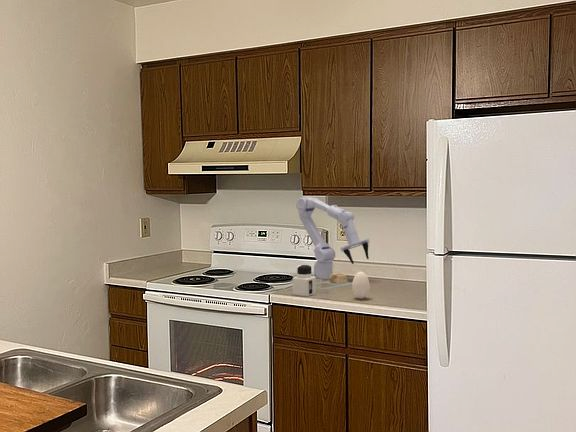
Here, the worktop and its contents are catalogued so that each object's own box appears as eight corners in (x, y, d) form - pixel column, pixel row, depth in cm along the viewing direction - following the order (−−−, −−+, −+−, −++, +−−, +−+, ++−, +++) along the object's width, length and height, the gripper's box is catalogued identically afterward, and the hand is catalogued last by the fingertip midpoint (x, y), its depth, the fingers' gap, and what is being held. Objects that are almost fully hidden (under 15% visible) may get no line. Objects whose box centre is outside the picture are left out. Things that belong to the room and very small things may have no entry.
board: (304, 287, 288) (304, 285, 288) (335, 281, 302) (335, 279, 302) (324, 291, 277) (324, 289, 277) (356, 285, 291) (356, 283, 291)
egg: (359, 296, 266) (359, 269, 265) (373, 298, 261) (373, 271, 260) (348, 298, 261) (348, 271, 260) (362, 301, 256) (362, 273, 255)
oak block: (329, 282, 293) (329, 274, 293) (338, 281, 297) (338, 273, 297) (338, 284, 289) (338, 276, 289) (347, 282, 293) (347, 274, 293)
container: (316, 293, 273) (316, 265, 272) (306, 296, 266) (306, 267, 265) (301, 291, 277) (301, 263, 276) (292, 294, 271) (292, 265, 270)
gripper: (336, 239, 294) (345, 265, 292) (364, 229, 291) (373, 256, 289) (338, 240, 301) (347, 266, 298) (366, 230, 298) (375, 256, 295)
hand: (360, 261), depth 294 cm, fingers open, 7 cm apart
